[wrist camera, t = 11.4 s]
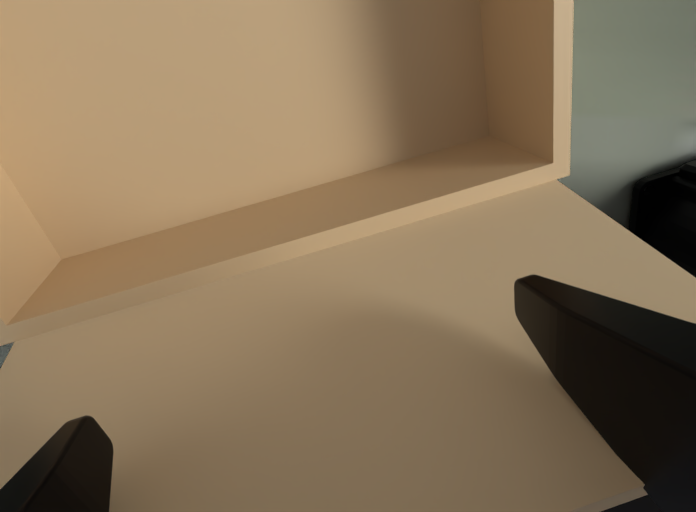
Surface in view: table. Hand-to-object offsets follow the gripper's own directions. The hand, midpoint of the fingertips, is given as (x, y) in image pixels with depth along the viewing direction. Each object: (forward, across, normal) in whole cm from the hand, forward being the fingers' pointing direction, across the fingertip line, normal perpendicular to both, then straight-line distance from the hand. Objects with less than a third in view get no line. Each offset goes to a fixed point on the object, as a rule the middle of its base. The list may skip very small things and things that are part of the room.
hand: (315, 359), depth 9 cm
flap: (+1, 0, +1) cm, 1 cm away
